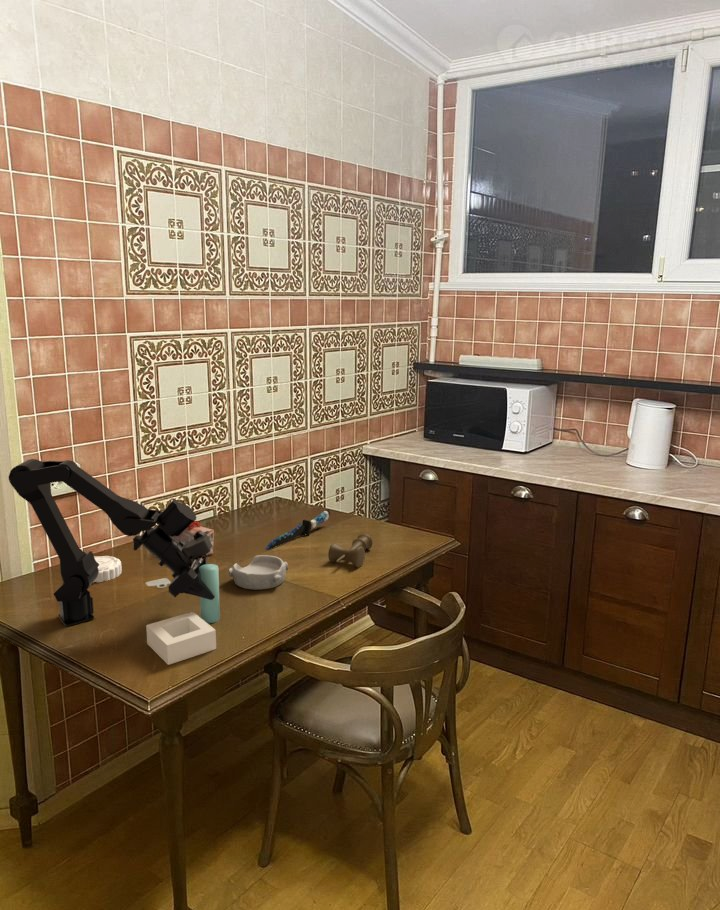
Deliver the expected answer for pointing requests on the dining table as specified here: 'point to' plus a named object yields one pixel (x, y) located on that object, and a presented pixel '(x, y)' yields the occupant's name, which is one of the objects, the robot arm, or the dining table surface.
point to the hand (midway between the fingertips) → (215, 593)
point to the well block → (181, 637)
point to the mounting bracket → (159, 583)
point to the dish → (260, 573)
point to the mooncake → (107, 568)
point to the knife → (300, 529)
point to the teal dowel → (211, 580)
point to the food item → (190, 532)
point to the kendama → (351, 551)
